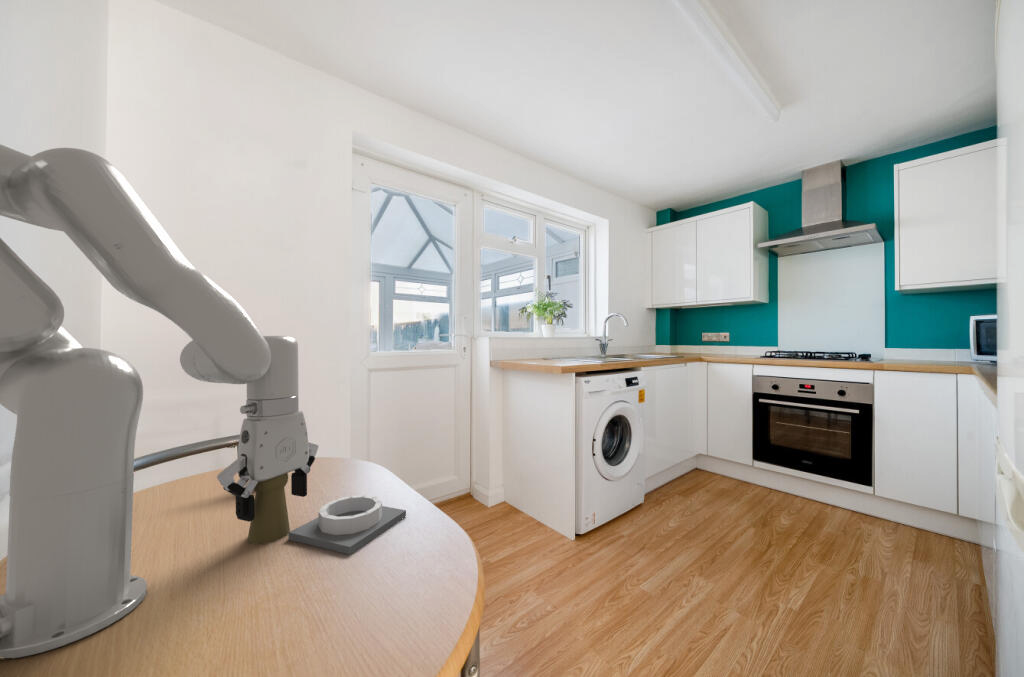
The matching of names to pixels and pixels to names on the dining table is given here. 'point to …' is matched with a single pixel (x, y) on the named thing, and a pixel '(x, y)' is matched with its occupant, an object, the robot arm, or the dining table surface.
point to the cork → (269, 511)
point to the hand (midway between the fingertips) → (274, 506)
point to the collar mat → (348, 539)
